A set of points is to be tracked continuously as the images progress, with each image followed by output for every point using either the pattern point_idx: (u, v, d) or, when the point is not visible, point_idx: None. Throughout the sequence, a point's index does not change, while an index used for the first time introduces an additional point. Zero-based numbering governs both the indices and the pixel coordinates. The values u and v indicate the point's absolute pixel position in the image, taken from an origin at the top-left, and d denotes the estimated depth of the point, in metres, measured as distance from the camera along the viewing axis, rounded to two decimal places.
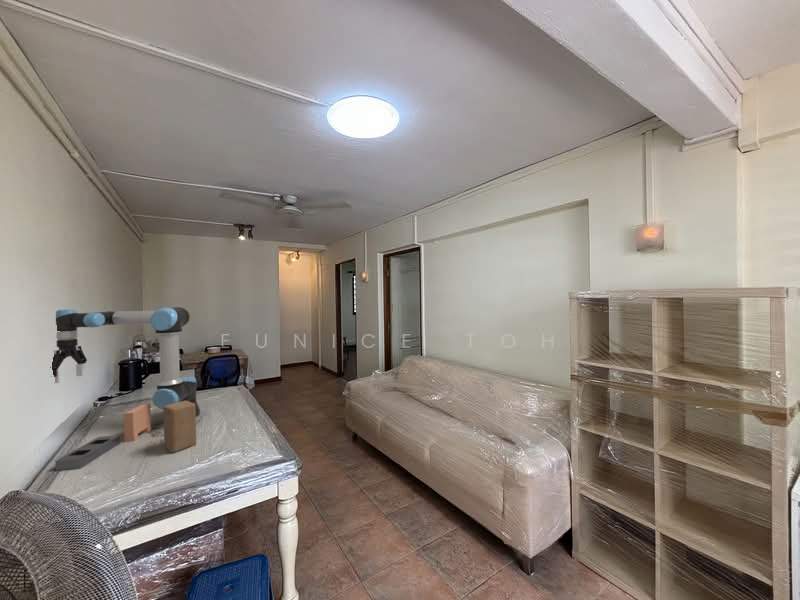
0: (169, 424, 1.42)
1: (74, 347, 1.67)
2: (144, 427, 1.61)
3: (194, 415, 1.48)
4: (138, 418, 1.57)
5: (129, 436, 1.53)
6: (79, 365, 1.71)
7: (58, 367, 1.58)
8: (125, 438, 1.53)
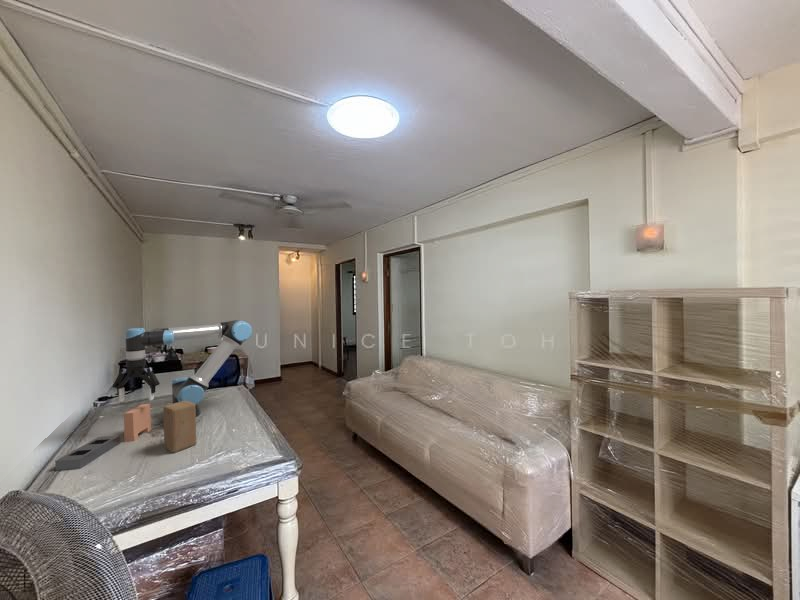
0: (169, 424, 1.42)
1: (140, 368, 1.58)
2: (144, 427, 1.61)
3: (194, 415, 1.48)
4: (138, 418, 1.57)
5: (129, 436, 1.53)
6: None
7: (120, 386, 1.57)
8: (125, 438, 1.53)
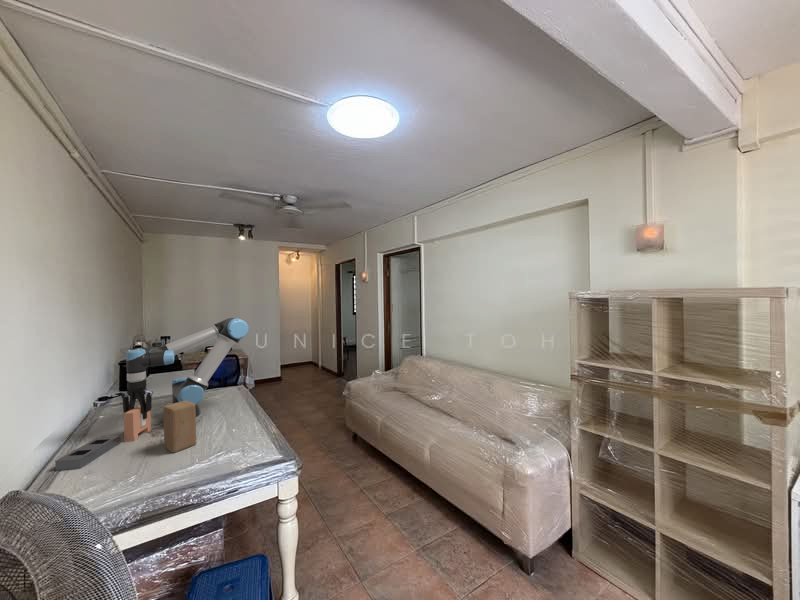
0: (169, 424, 1.42)
1: (142, 390, 1.59)
2: (144, 427, 1.61)
3: (194, 415, 1.48)
4: (138, 418, 1.57)
5: (129, 436, 1.53)
6: None
7: None
8: (125, 438, 1.53)
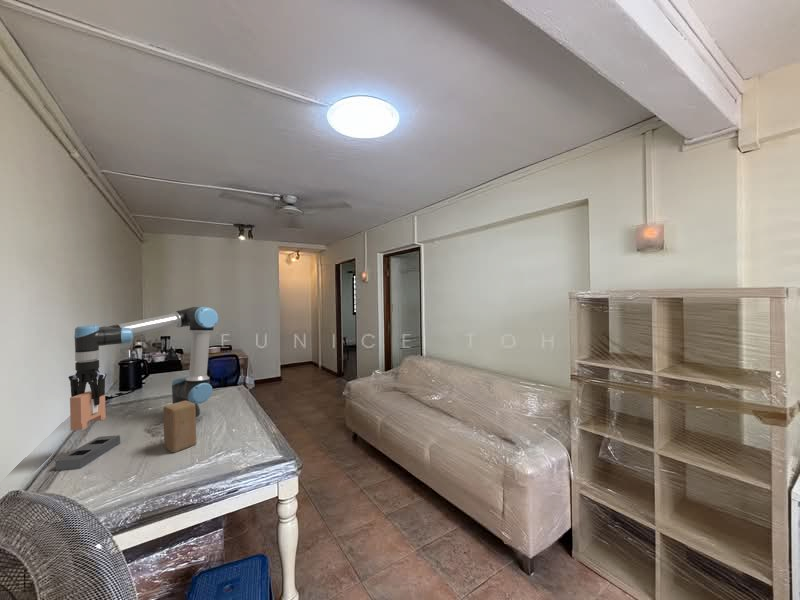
0: (169, 424, 1.42)
1: (93, 371, 1.38)
2: (96, 414, 1.41)
3: (194, 415, 1.48)
4: (88, 403, 1.37)
5: (76, 424, 1.33)
6: None
7: None
8: (71, 426, 1.33)
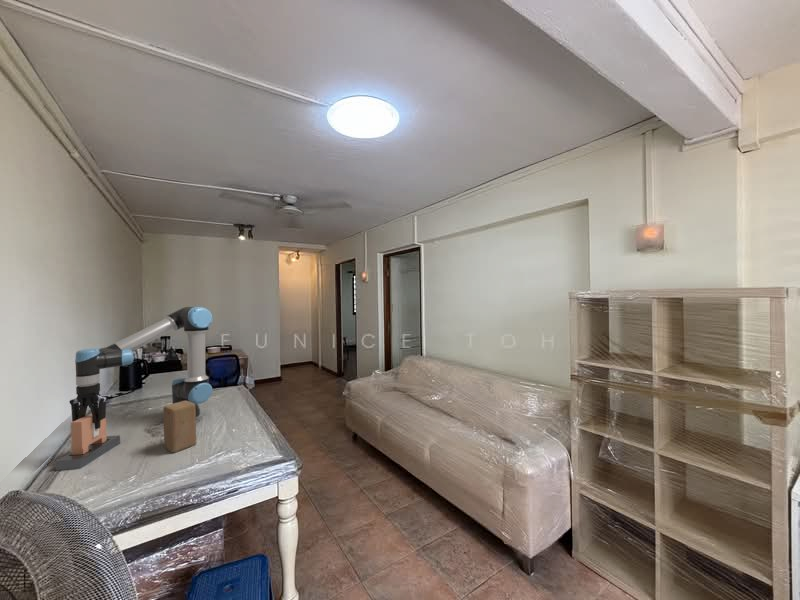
0: (169, 424, 1.42)
1: (94, 395, 1.39)
2: (97, 438, 1.41)
3: (194, 415, 1.48)
4: (89, 427, 1.37)
5: (77, 449, 1.33)
6: None
7: None
8: (72, 451, 1.33)
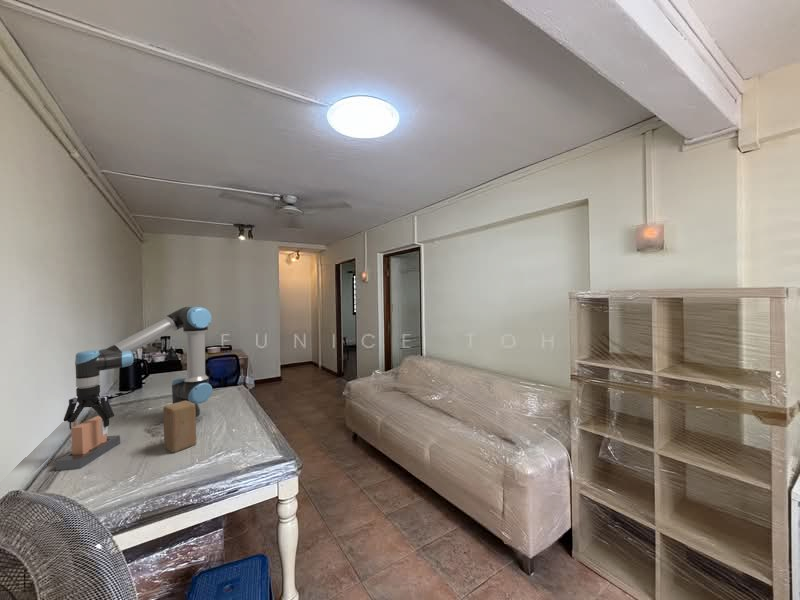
0: (169, 424, 1.42)
1: (93, 397, 1.39)
2: (98, 443, 1.42)
3: (194, 415, 1.48)
4: (90, 432, 1.38)
5: (78, 454, 1.34)
6: None
7: (72, 419, 1.38)
8: None
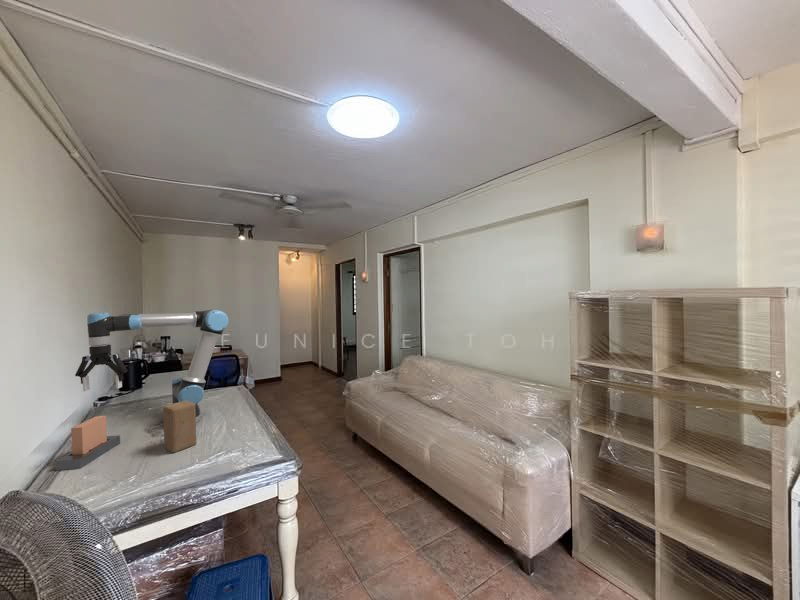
0: (169, 424, 1.42)
1: (105, 355, 1.49)
2: (98, 443, 1.42)
3: (194, 415, 1.48)
4: (90, 432, 1.38)
5: (78, 454, 1.34)
6: None
7: (83, 374, 1.48)
8: None
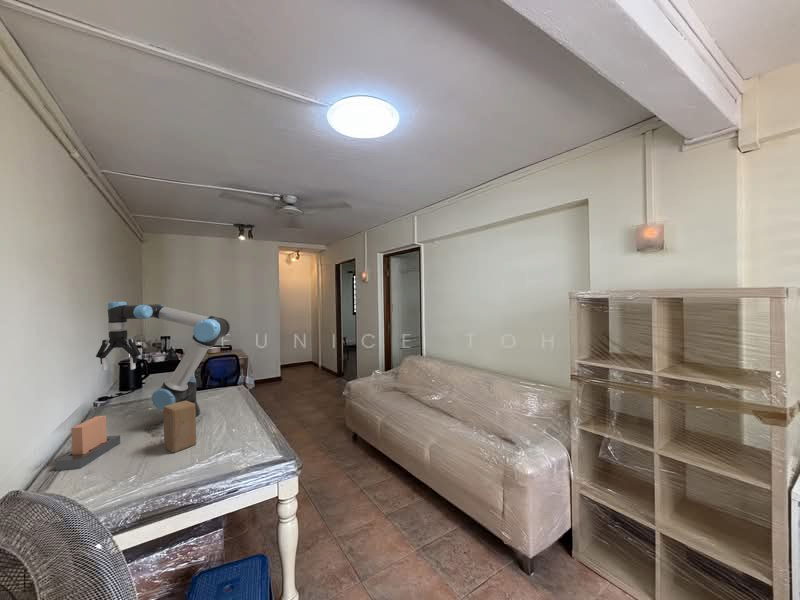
0: (169, 424, 1.42)
1: (122, 339, 1.68)
2: (98, 443, 1.42)
3: (194, 415, 1.48)
4: (90, 432, 1.38)
5: (78, 454, 1.34)
6: None
7: (103, 356, 1.67)
8: None
